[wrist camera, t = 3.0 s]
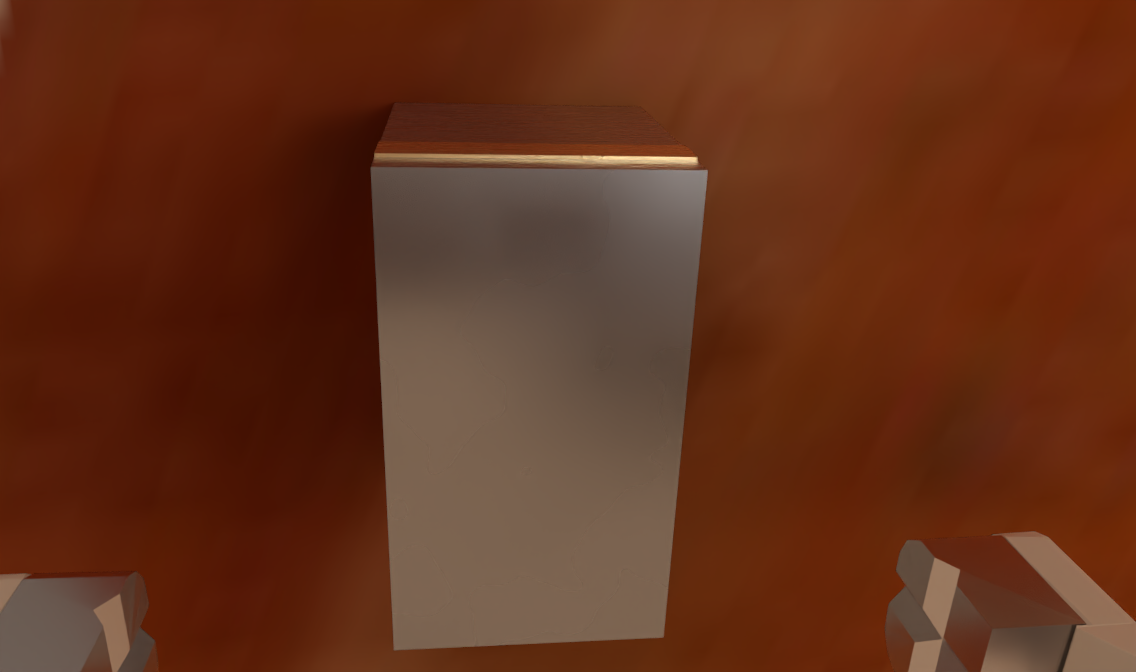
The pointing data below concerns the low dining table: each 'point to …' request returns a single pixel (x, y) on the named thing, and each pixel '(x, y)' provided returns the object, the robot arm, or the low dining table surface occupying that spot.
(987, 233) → the low dining table surface
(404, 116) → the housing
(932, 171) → the low dining table surface
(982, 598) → the robot arm
